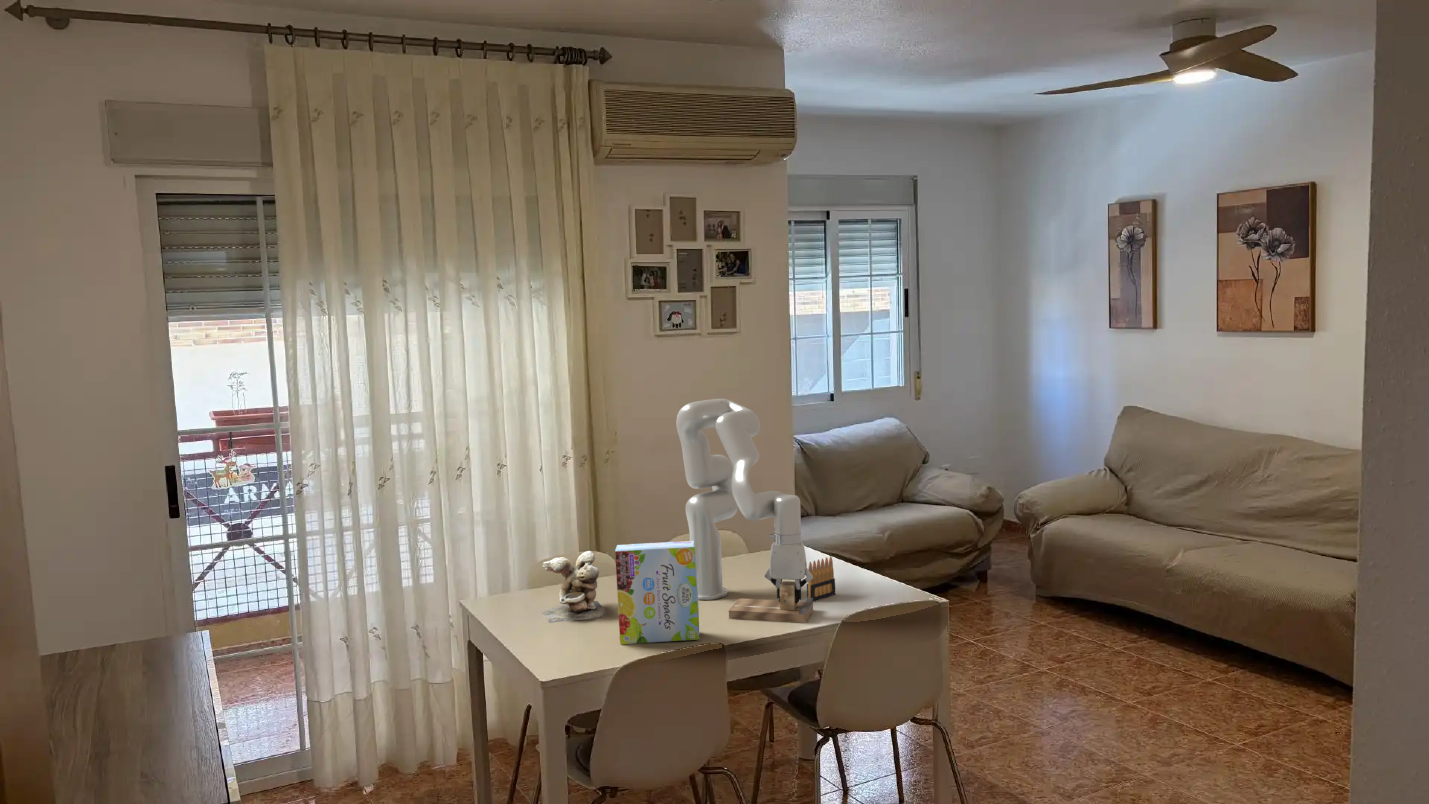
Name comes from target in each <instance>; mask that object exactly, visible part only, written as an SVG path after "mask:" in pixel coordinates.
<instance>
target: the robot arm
mask: <svg viewBox="0 0 1429 804" xmlns="http://www.w3.org/2000/svg"><path fill="white" fill-rule="evenodd" d="M675 423H676V424H675V425H676V431H677V435H678V438H679V441H680V445H681V450H682V458H683V459H682V460H683V466H684V474H685V480H686V482H687V484H688V486H689V487H690V488H692V489H694V490H700V489H701V490H702V489H706V488H711V489H712V490H711V491H705V492H701V493H697V494H694V495H693V496H691V497H690V498H689V499H688V500H687V501H686V503H685V510H684V511H685V515H686V520H687V525H688V529H689V530H688V532H689V541H694V543H695V554H696V568H697V585H698V601H699V600H700V601H710V600H718V599H721V598H724V597H726V596H727V595H728V588H727V587H724V586H723V562H722V538H721V533H720V531H719V529H718V528H717V525H716V523H718V522H721V521H725V520H729V519H732V518H733V517H734V516H735V515H736V514H737V512H738V510H739V511H740V513H741V514H742V516H743V517H744V518H745V519H746V520H748V521H751V522H757V521H762V520H765V519H771V518H774V519H773V522H774V523H773V526H774V532H773V533H770V534H769V539H771V540H773V542H772V543H771V547H770V552H769V553H770V555H769V568H768V569H767V571H766V573H765V574H764V578H765V579H767V580H768V581H770V582H771V583H772V585H773V586H774V587H775V589H776V598H777V599H778V600H779V602H780V584H781V583H782V582H783V580H786V581H791V580H792V581H794V582H795V584H796V589H795V603H798V602H800V600H801V599H802V588H803V587H804V585H805V584H806V585H807V584H808V582H809V581H811V580H812V579H813V576H812V574H811V573H810V571H809V570H808V568H809V567H807V566H808V564H807V557H806V556H807V555H806V548H805V544H804V542H802V528H801V527H802V522H801V521H802V519H801V518H802V517H801V515H802V514H801V499H800V497H799V496H798V495H795V494H790V493H789V494H786V493H783V492H781V491H779V490H767V491H764V492H763V491H762V492H757V493H755V492H754V491H753V489H752V486H751V483H750V481H749V479H750V477H749V475H750V470H751V469H752V467H753V466H754V465H755V464H756V463H757V462H758V461H759V459H760V457H761V456H760V453H759V450H758V449H757V446H756V444H755V443H754V440H753V437H755V436H757V434H758V433H760V429H761V422H760V419H759V417H758V415H757V413H755V412H754V411H753V410H752V409H750V408H747V407H746V406H743V405H741V404H739V403H736V402H735V401H732V400H729V399H728V398H727V399H726V398H713V399H704V400H703V399H702V400H698V401H692V402H689V403H686V404H685V405H684V406H682V407H681V408H680V409H679V411H678V413H677V416H676V421H675ZM710 428H712V429H713V428H715V431H716V433H717V437H718V438H719V440H720V442H721V444H722V446H723V448H724V450H725V452H726V454H727V456H728V457H726V456H725V455H724V454H712V453H711V449H710V447H711V446H710V442H709V439H708V438H707V436H706V435H705V433H704V432H703V431H702V430H704V429H710Z"/></svg>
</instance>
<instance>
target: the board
mask: <svg viewBox="0 0 1429 804" xmlns="http://www.w3.org/2000/svg"><path fill="white" fill-rule="evenodd" d="M813 611H814V601H813V598H807V597H806V600H805V601H799V602H798V606H797V607H796V608H795V610H780V602H779V599H778V600H775V599H762V598H761V599H758V598H742V597H741V598H738V599H737V601H736V602H735V603H734V604H733V605H732V606H731V607H730V609H729V610H728V619H730V620H731V619H732V620H745V621H746V620H749V621H764V622H767V621H768V622H770V621H771V622H782V623H783V622H784V623H800V624H806V622H807V621H808V619H809V618H810V616H812V615H811V614H812V613H813Z"/></svg>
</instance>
